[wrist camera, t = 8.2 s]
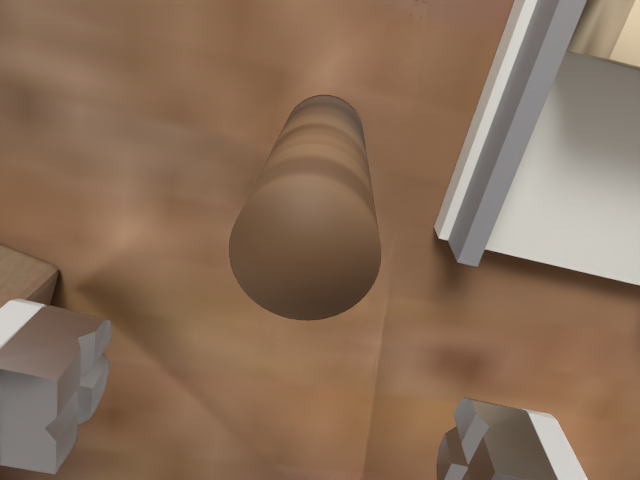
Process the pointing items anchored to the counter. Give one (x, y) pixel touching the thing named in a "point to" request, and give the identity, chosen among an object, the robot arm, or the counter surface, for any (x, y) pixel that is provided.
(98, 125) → the counter surface
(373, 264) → the dowel
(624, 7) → the socket block
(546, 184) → the rail base
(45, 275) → the wooden block
